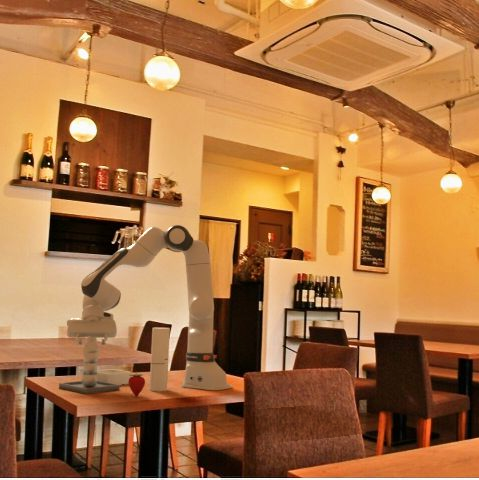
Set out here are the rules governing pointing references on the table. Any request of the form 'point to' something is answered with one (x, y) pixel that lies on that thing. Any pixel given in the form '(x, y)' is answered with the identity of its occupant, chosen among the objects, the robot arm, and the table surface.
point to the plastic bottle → (90, 362)
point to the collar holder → (114, 376)
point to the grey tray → (80, 388)
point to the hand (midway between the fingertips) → (91, 343)
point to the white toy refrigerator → (159, 359)
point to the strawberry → (136, 383)
